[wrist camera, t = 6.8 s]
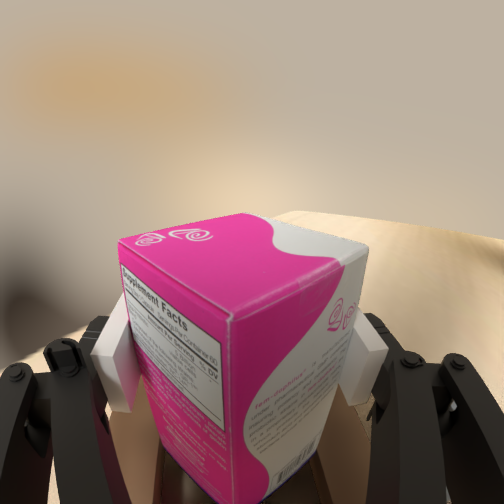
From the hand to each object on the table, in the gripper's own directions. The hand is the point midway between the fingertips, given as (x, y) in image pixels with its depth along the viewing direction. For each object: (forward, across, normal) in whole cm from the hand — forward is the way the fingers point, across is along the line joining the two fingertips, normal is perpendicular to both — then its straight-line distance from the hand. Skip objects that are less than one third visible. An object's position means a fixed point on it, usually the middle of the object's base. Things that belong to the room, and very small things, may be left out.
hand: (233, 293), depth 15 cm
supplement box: (-5, 0, -7) cm, 9 cm away
